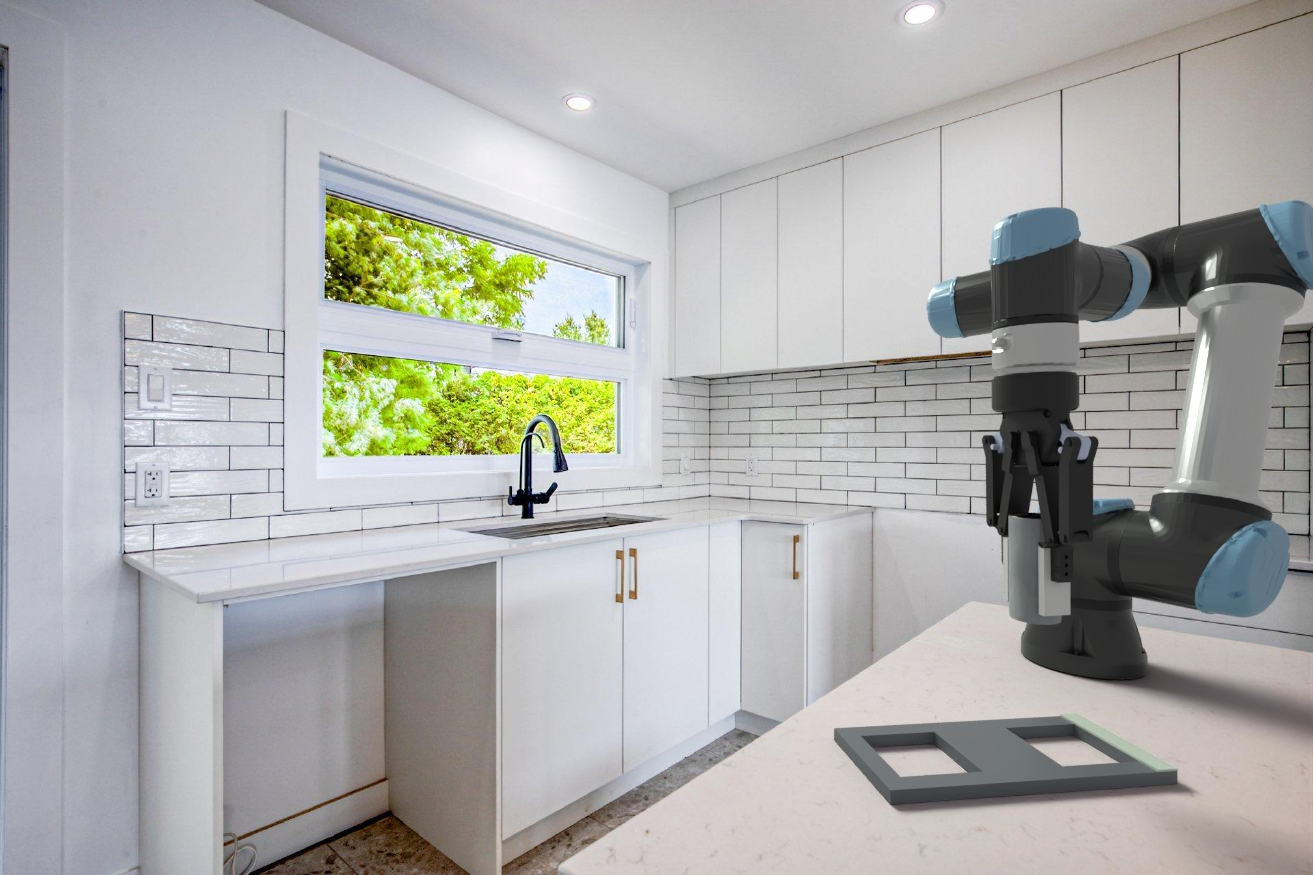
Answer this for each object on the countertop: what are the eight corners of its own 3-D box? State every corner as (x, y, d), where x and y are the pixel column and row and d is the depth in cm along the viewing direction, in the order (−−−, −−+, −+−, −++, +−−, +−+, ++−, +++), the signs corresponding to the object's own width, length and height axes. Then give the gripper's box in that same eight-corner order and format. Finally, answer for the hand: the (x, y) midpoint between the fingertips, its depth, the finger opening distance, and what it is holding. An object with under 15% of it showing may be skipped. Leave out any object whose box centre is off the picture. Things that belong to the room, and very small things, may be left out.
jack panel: (1076, 725, 72) (1076, 713, 72) (1177, 783, 60) (1177, 768, 60) (833, 739, 68) (834, 726, 68) (890, 804, 56) (890, 787, 56)
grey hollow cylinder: (1055, 614, 66) (1055, 513, 66) (1066, 627, 62) (1066, 519, 62) (1005, 610, 68) (1005, 511, 68) (1013, 623, 64) (1012, 517, 63)
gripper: (948, 379, 73) (949, 587, 73) (1065, 363, 55) (1066, 637, 56) (1010, 378, 74) (1012, 584, 74) (1145, 363, 56) (1145, 632, 57)
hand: (1035, 606), depth 65 cm, fingers closed on grey hollow cylinder, 4 cm apart
